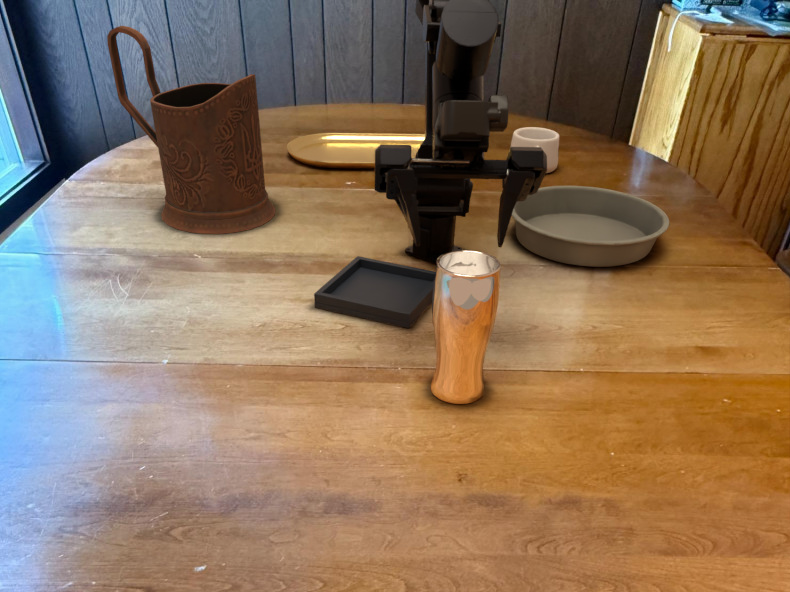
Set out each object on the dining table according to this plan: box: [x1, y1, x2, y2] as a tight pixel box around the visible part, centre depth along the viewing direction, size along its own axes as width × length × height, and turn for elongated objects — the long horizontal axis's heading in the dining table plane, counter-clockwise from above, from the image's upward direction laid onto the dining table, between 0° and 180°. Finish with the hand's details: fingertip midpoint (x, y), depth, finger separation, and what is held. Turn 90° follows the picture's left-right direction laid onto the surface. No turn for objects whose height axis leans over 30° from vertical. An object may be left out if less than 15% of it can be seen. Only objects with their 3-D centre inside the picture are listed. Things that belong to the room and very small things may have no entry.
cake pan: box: [511, 185, 670, 268], centre depth 122 cm, size 25×25×4 cm
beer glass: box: [430, 249, 502, 405], centre depth 84 cm, size 7×7×15 cm
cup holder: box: [106, 25, 276, 235], centre depth 120 cm, size 18×24×25 cm
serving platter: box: [286, 132, 425, 170], centre depth 151 cm, size 19×35×2 cm, turn 93°
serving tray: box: [313, 255, 436, 329], centre depth 105 cm, size 14×14×2 cm
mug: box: [509, 126, 560, 174], centre depth 147 cm, size 12×10×6 cm
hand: (459, 245), depth 86 cm, fingers open, 9 cm apart
